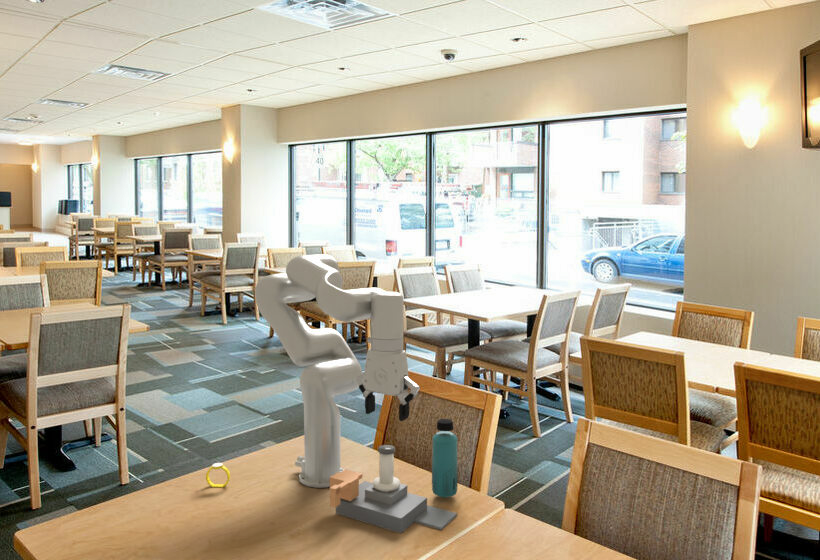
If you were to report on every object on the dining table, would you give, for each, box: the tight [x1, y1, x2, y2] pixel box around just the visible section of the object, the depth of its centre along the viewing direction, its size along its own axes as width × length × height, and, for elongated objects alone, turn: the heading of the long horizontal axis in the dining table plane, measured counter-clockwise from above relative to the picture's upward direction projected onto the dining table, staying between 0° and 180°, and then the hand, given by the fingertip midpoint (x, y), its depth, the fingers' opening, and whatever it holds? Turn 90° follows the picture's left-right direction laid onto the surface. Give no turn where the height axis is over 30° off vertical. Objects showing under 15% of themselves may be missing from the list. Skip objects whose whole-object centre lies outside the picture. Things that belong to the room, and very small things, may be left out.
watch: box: [205, 462, 231, 488], centre depth 165 cm, size 6×3×6 cm, turn 89°
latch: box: [329, 469, 363, 509], centre depth 150 cm, size 6×11×5 cm, turn 150°
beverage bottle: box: [431, 418, 459, 498], centre depth 159 cm, size 6×7×20 cm
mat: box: [414, 504, 458, 531], centre depth 149 cm, size 8×8×1 cm
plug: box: [372, 444, 401, 494], centre depth 152 cm, size 6×6×12 cm
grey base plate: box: [335, 480, 428, 534], centre depth 151 cm, size 18×12×6 cm, turn 60°
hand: (386, 415), depth 151 cm, fingers open, 9 cm apart
